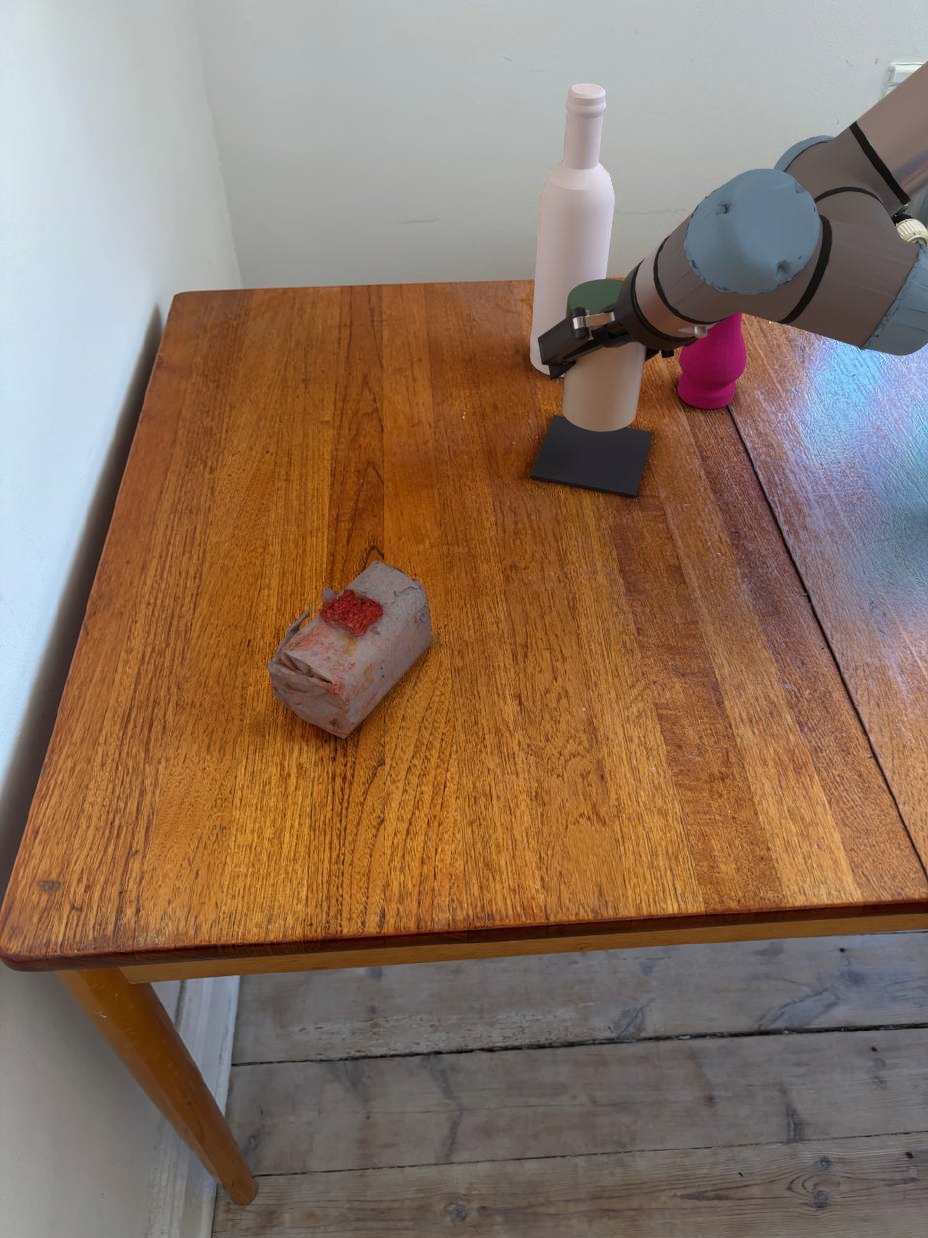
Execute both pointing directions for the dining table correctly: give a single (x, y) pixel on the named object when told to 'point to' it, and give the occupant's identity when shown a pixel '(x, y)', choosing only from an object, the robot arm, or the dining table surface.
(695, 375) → the pepper mill
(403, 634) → the food item
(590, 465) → the mat
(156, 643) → the dining table surface
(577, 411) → the jar
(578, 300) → the jar lid
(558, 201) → the bottle
